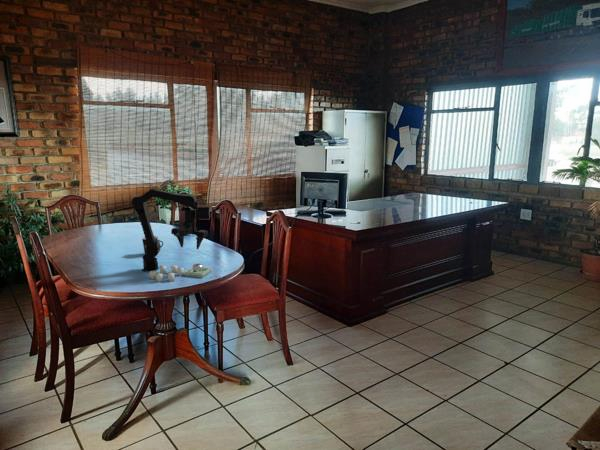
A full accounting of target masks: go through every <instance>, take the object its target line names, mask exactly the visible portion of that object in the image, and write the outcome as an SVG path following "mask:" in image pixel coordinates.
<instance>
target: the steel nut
mask: <svg viewBox="0 0 600 450" xmlns="http://www.w3.org/2000/svg"><path fill="white" fill-rule="evenodd" d="M192 267H193V272H197V273H202V272H203V267H204V265H203V263H194V264H192Z"/></svg>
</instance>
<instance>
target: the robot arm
mask: <svg viewBox="0 0 600 450" xmlns="http://www.w3.org/2000/svg"><path fill="white" fill-rule="evenodd" d="M152 198H157V199H162V200H166V201H170V202H171V201H172V202H175V203H178V204H180V205H182V206H181V208H179V211H180V212H183V221H182V224H181V226H176V227H173V228H172V229H171V232H170V234H171V235H173V236H174V237H175V238H177V240H178V242H179V244H180V248H183V247H184V241H185V237H187V236H189V235H193V236H194V235H195V236H196V237H195V240H196V250H199V248H200V247H201V244H202V242H203V240H204V238H205V239H206V237H208V236H209V231H208V230H205V229H200V230H197V227H196V223H197V219H198V220H206V221H207V220H208V221H209V220H210V219H211V210H210V206H209V205H207V206H200V204H199V203H198V202H197V199H196V197H195V195H193V194H190V193H187V194H186V193H183V194H182V193H180V194H179V193H175V192H171V191H166V190H161V189H157V188H150V189H149V190H148V191H147V192H145V193H144V194H139V195H136V196H135V197H133V198H132V199H131V206H132V207H133V210H134V211H135V212H136V214H137V215H138V219H139V221H140V225H141V228H142V232H143V235H144V237H145V239H146V251H147V252H146V253H145V252H144V254H143V255H142V264H143V267H142V269H141V271H142V272H143V271H144V272H150V271H157V270H158V269H159V270H160V266H159V262H158V258H157V256H158V255H159V253H160V252H161V248H162V247H161V246H162V244H161V242H160V241H159V240H160V239H158V240H156V239H155V238H154V236H155V235H154V232H153V229H152V225H151V222H150V218H149V215H148V211H147V207H148V206H147V201H149V200H150V199H152ZM196 218H197V219H196Z"/></svg>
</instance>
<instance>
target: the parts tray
mask: <svg viewBox="0 0 600 450" xmlns="http://www.w3.org/2000/svg"><path fill="white" fill-rule="evenodd" d="M211 273H212V267H204V266H203V272H202V273H197V272H193V266H192V267H190V268H188V269H186V270H185V271H184V277H190V276H191V278H200V279H204V278H205V277H207V276H208V275H210V274H211Z"/></svg>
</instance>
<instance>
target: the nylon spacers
mask: <svg viewBox="0 0 600 450" xmlns="http://www.w3.org/2000/svg"><path fill="white" fill-rule="evenodd" d="M170 269H171V270H170V271H171V272H169V273H167V265H160V266H159V272H158V273H157V270H155V271H149V278H150V280H155V282H156V283H161V282H163V280H164V279H163V275H164V274H167V282H175V274H177V276H179V277H182V276H185V271H184V267H178V264H175V265H171V267H170Z"/></svg>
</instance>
